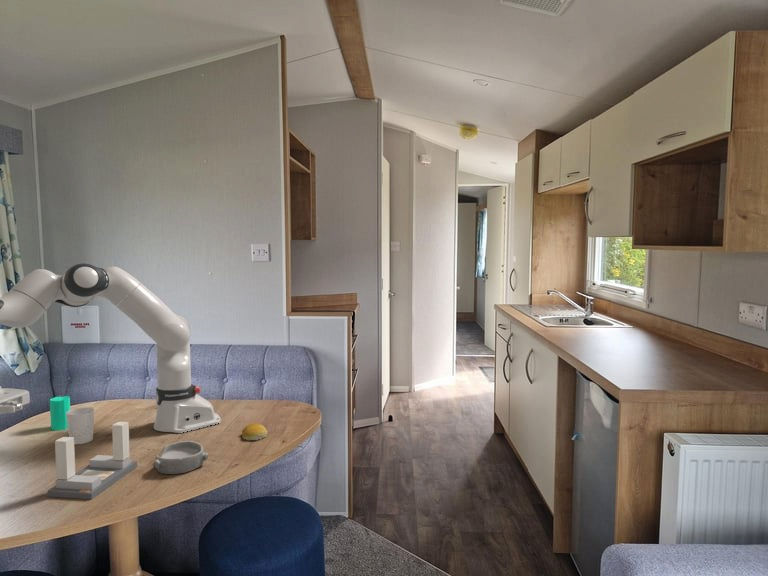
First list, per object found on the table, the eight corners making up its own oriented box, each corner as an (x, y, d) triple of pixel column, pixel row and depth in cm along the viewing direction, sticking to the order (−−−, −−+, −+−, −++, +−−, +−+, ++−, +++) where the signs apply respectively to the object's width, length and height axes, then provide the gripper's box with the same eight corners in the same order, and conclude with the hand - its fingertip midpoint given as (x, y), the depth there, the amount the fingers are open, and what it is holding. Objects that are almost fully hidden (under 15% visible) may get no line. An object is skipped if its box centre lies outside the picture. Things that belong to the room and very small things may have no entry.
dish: (154, 479, 144) (154, 462, 144) (154, 460, 157) (154, 444, 157) (209, 471, 150) (209, 454, 150) (205, 453, 163) (205, 437, 162)
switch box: (47, 496, 134) (47, 483, 133) (98, 464, 154) (98, 452, 153) (91, 499, 132) (91, 485, 132) (137, 466, 152) (136, 454, 152)
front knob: (56, 478, 135) (54, 441, 135) (64, 473, 138) (63, 436, 137) (67, 479, 135) (65, 441, 134) (75, 474, 138) (73, 437, 137)
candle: (74, 425, 186) (73, 391, 185) (63, 430, 180) (61, 396, 179) (59, 424, 187) (57, 391, 186) (46, 430, 181) (45, 396, 180)
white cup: (64, 441, 171) (62, 411, 170) (90, 434, 177) (89, 405, 176) (71, 447, 166) (70, 416, 165) (98, 440, 172) (97, 410, 171)
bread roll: (243, 443, 172) (243, 431, 171) (241, 433, 180) (240, 422, 180) (269, 439, 174) (269, 428, 174) (265, 430, 183) (265, 419, 182)
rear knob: (113, 459, 147) (112, 425, 147) (119, 455, 150) (118, 421, 150) (123, 460, 147) (122, 425, 146) (129, 456, 150) (128, 422, 149)
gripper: (-69, 405, 128) (-18, 408, 126) (1, 384, 148) (46, 386, 146) (-68, 431, 128) (-16, 434, 127) (2, 406, 148) (47, 408, 147)
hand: (18, 408), depth 137 cm, fingers closed
